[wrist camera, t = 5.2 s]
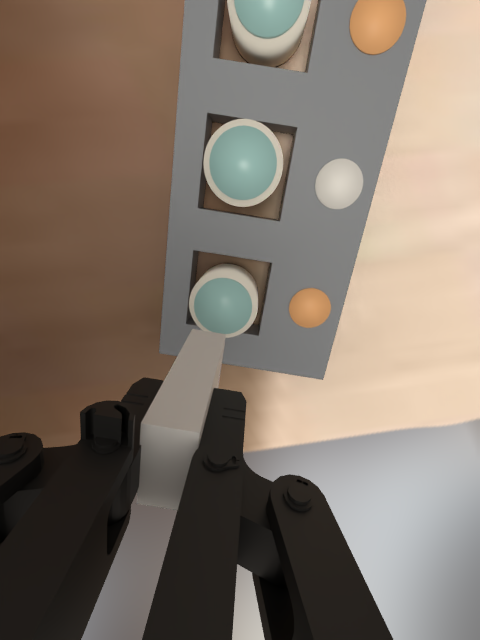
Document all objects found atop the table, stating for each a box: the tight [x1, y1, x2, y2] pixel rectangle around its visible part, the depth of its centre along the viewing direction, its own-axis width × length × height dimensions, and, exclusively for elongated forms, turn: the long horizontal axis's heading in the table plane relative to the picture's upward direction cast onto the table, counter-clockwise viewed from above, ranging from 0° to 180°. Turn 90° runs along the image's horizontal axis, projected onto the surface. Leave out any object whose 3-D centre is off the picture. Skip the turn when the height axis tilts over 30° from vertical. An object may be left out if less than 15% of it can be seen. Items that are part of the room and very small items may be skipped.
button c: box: [227, 0, 311, 67], centre depth 20 cm, size 5×5×4 cm
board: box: [159, 0, 426, 380], centre depth 24 cm, size 14×30×3 cm, turn 171°
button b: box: [203, 119, 283, 207], centre depth 21 cm, size 5×5×4 cm
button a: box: [189, 263, 258, 338], centre depth 24 cm, size 5×5×4 cm
